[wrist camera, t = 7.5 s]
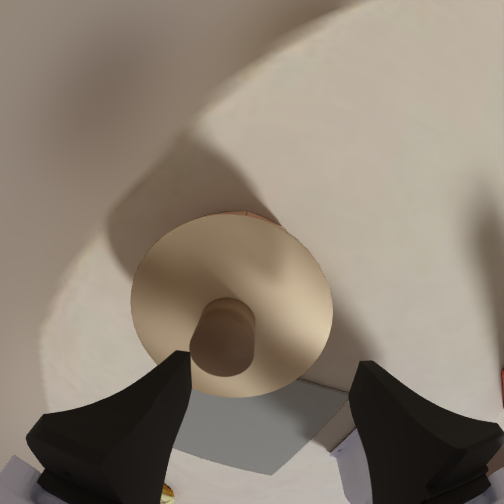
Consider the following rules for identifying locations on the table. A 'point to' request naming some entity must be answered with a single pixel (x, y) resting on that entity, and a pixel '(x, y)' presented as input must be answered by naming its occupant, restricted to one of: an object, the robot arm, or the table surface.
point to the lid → (233, 304)
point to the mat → (257, 425)
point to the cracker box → (503, 380)
